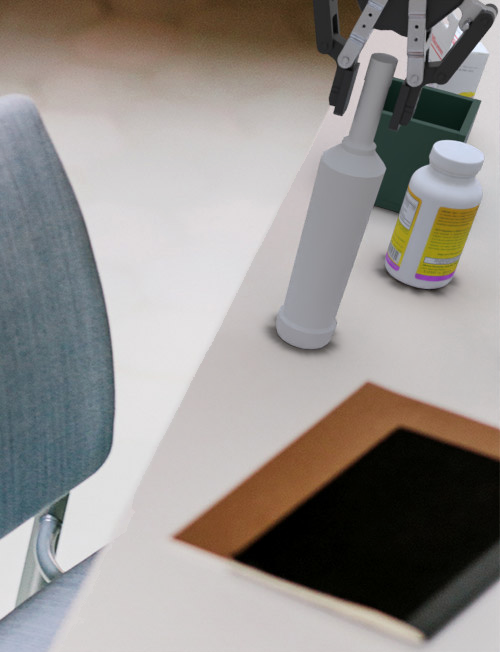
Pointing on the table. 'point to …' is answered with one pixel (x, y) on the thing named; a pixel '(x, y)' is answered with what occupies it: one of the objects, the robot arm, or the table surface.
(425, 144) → the bin
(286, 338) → the bottle
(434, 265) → the supplement bottle
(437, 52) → the ink box
